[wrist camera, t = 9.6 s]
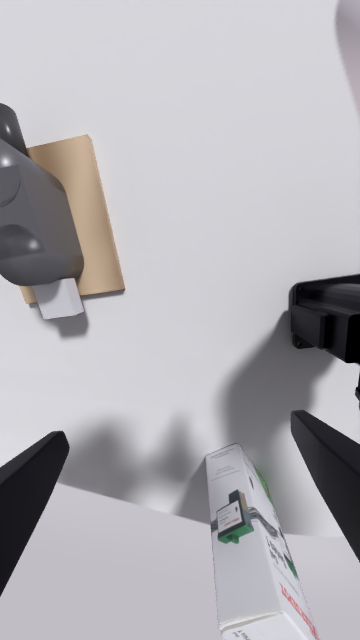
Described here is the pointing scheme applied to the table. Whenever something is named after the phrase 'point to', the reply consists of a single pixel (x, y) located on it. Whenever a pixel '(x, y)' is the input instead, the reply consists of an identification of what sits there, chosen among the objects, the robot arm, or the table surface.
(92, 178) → the light brown wooden board
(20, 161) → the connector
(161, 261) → the table surface
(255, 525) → the ink box
